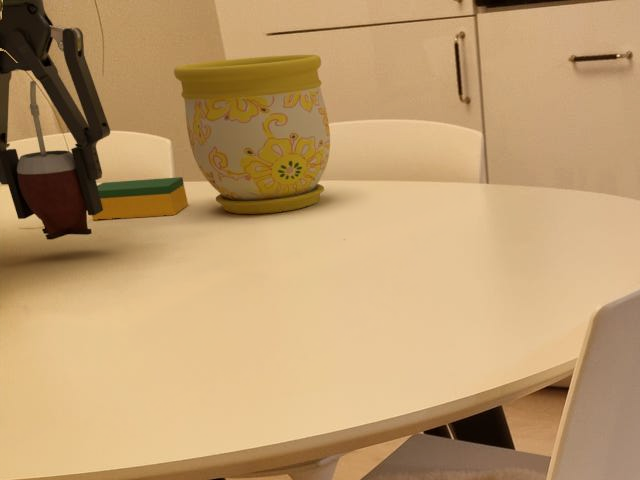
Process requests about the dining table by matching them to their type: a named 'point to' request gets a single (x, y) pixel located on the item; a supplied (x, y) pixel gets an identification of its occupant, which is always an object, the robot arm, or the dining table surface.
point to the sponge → (141, 198)
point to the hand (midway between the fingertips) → (61, 214)
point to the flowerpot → (258, 130)
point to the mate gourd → (52, 186)
